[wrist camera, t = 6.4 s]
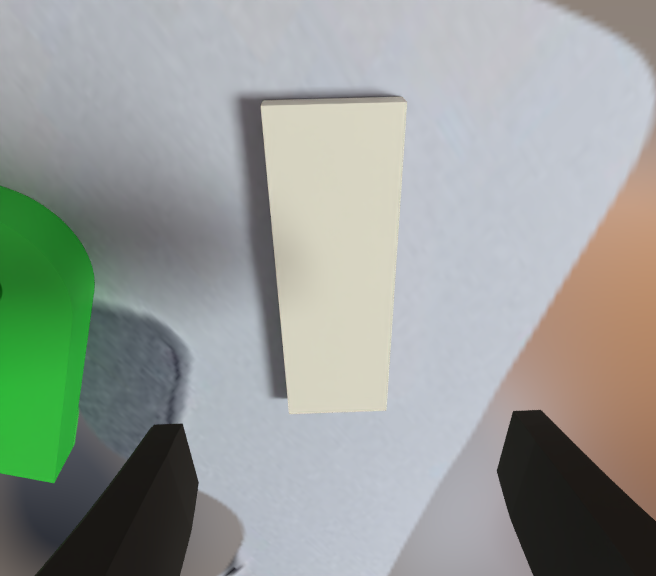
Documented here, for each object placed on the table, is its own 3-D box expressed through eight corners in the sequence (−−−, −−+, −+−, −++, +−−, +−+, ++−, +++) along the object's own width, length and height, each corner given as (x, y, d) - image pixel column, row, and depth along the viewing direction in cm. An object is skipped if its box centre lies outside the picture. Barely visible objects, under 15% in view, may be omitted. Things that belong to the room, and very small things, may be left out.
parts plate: (383, 396, 20) (386, 410, 19) (289, 399, 20) (289, 414, 19) (402, 96, 13) (406, 102, 13) (263, 100, 13) (260, 105, 13)
